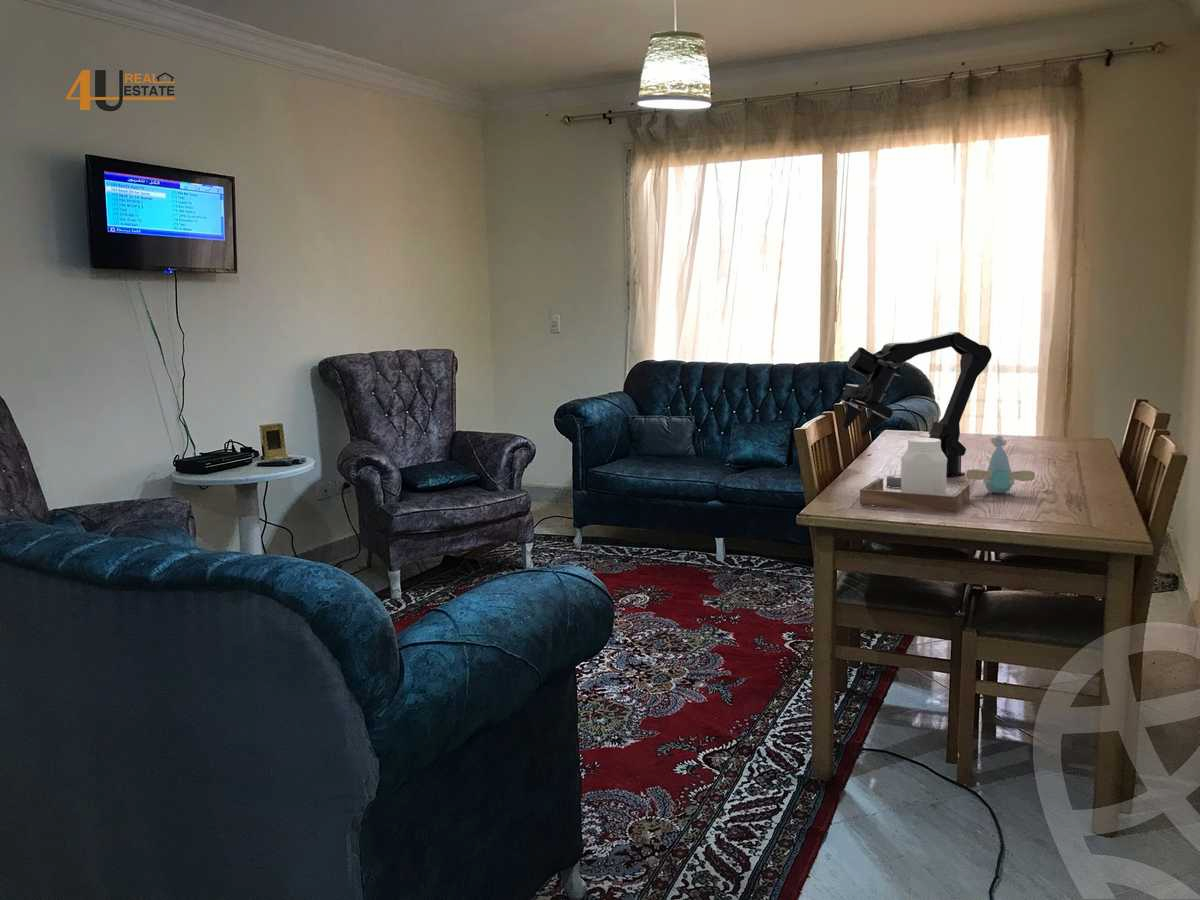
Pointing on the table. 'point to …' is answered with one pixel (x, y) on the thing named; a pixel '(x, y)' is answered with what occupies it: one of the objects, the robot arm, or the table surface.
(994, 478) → the blue winged piece
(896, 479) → the wheel
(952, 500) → the wooden tray
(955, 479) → the table surface
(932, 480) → the jar
